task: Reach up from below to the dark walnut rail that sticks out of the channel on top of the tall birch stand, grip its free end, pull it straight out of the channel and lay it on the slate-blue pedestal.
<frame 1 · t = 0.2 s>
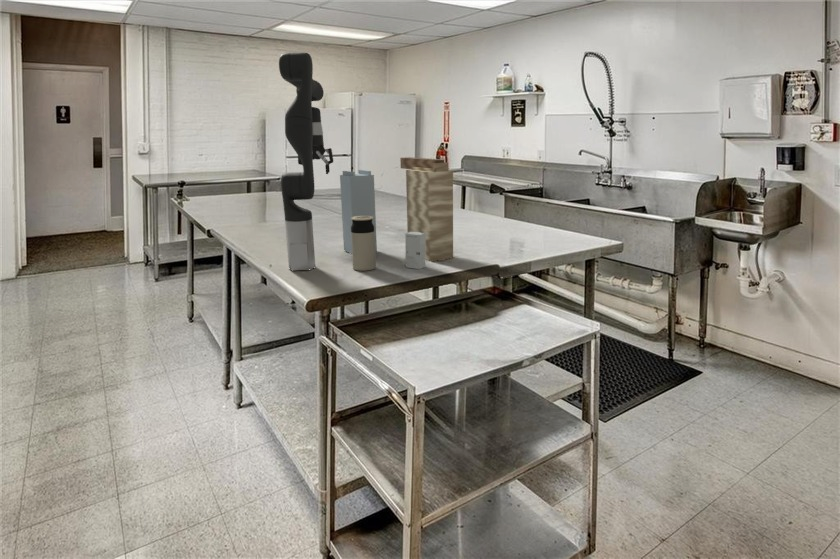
hand: (316, 174, 233), 29 cm above the table, tool pointing down, fingers open, 8 cm apart
skincare box: (415, 267, 195), on the table
birch stand: (430, 255, 212), on the table
walnut rail: (421, 169, 208), point 32 cm above the table, touching birch stand
travel mug: (364, 269, 195), on the table
slate pedestal: (360, 251, 222), on the table
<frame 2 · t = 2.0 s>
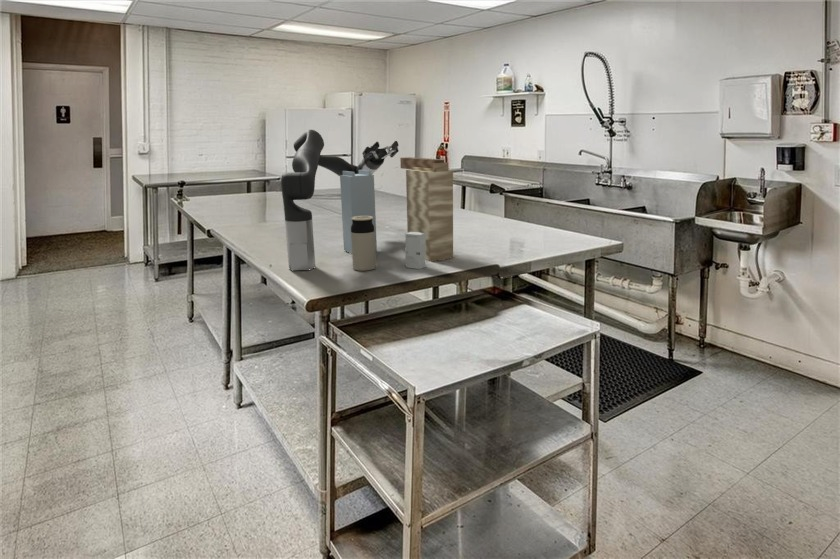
hand: (387, 143, 222), 41 cm above the table, tool pointing upward, fingers open, 8 cm apart
nothing on the table moved.
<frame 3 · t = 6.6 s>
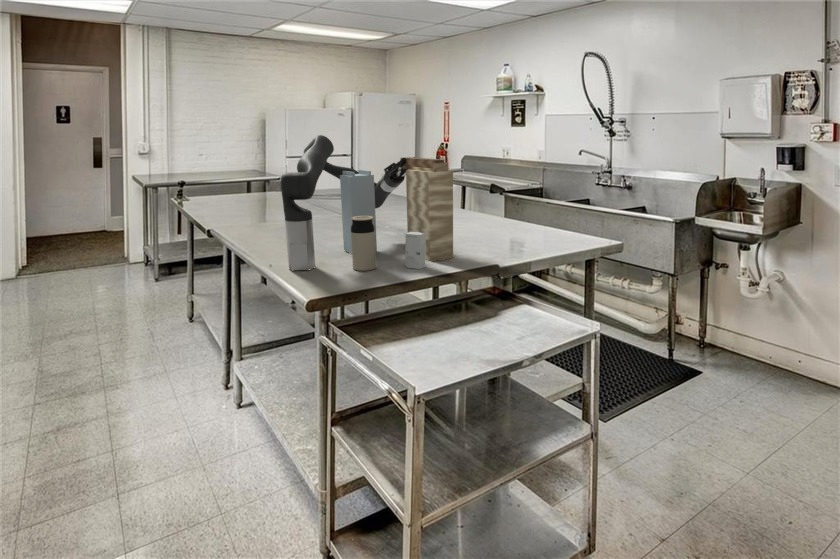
hand: (410, 159, 213), 35 cm above the table, tool pointing upward, fingers closed on walnut rail, 4 cm apart
walnut rail: (421, 169, 208), point 32 cm above the table, touching birch stand, gripper
everything else where it was.
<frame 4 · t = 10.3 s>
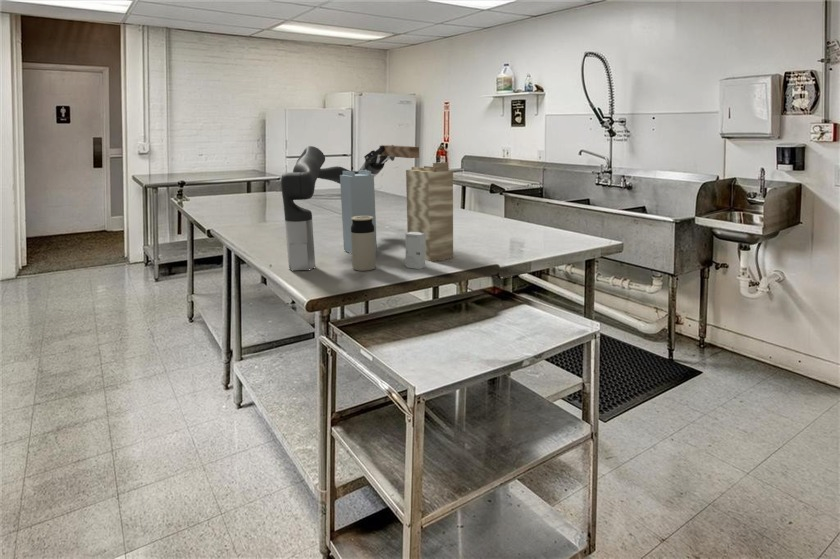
hand: (388, 147, 226), 40 cm above the table, tool pointing upward, fingers closed on walnut rail, 4 cm apart
walnut rail: (398, 156, 220), point 36 cm above the table, touching gripper
everything else where it was.
when the fingers open (34 cm above the table, at t = 14.0 s): walnut rail drops 1 cm, resting on slate pedestal.
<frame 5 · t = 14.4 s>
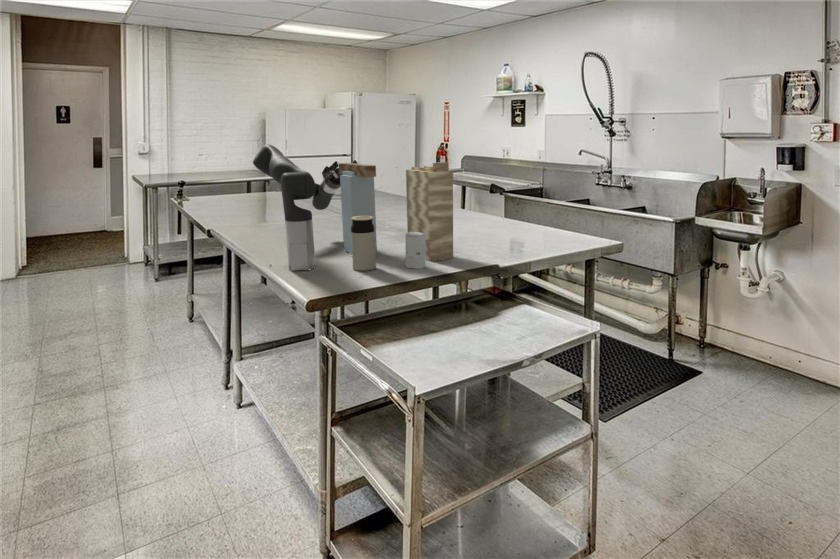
hand: (346, 162, 220), 34 cm above the table, tool pointing upward, fingers open, 8 cm apart
walnut rail: (356, 175, 214), point 30 cm above the table, touching slate pedestal
everything else where it was.
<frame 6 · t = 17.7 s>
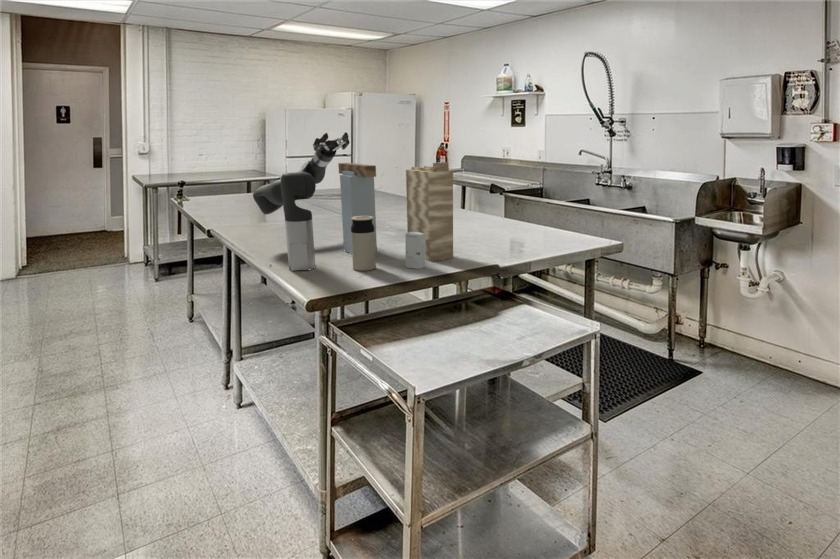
hand: (337, 134, 223), 45 cm above the table, tool pointing upward, fingers open, 8 cm apart
nothing on the table moved.
at the end: walnut rail inside the target area on the slate pedestal (0.1 cm from its centre), point 30.0 cm above the slate pedestal's base; the gripper is holding nothing; walnut rail touching slate pedestal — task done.
